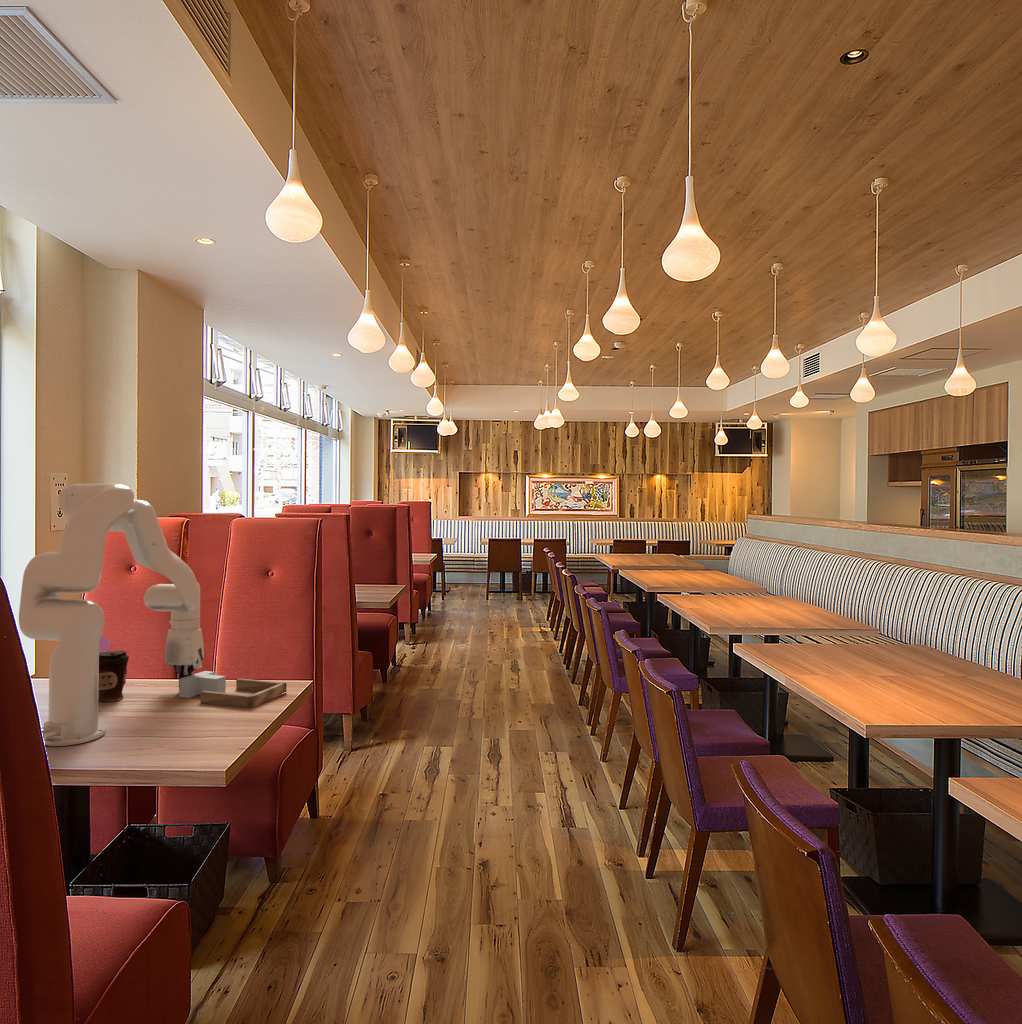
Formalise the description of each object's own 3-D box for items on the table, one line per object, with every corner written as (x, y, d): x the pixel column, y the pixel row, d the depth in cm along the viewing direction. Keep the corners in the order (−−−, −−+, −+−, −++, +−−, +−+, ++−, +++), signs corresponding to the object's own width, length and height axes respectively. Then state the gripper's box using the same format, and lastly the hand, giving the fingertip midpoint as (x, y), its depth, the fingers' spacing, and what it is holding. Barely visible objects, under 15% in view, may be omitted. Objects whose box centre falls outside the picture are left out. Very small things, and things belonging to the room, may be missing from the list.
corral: (251, 708, 173) (251, 697, 173) (200, 702, 178) (200, 691, 178) (286, 693, 188) (286, 682, 188) (239, 688, 192) (239, 678, 192)
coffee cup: (115, 704, 175) (115, 656, 175) (84, 704, 175) (85, 655, 175) (134, 695, 184) (135, 649, 184) (105, 695, 184) (106, 649, 184)
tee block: (208, 699, 180) (208, 681, 180) (178, 696, 183) (179, 678, 183) (233, 690, 190) (233, 673, 190) (205, 687, 193) (205, 670, 193)
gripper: (154, 625, 187) (153, 688, 187) (197, 628, 183) (197, 693, 183) (174, 621, 194) (173, 682, 194) (216, 623, 190) (215, 686, 190)
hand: (185, 687), depth 189 cm, fingers closed
